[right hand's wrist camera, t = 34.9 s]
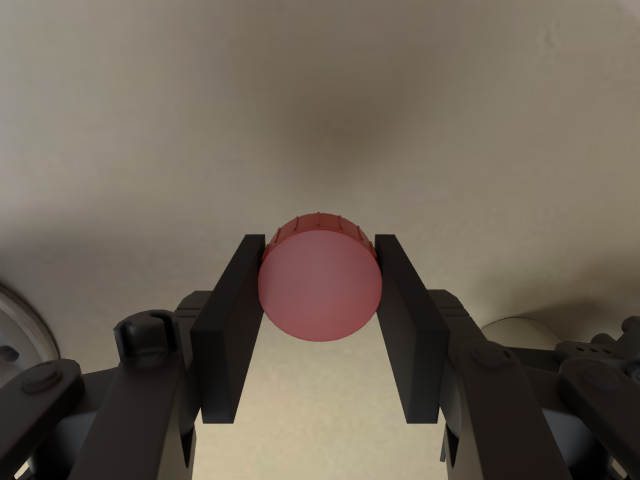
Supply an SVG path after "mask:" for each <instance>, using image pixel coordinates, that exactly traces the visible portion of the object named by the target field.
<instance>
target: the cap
mask: <svg viewBox="0 0 640 480" xmlns="http://www.w3.org/2000/svg"><path fill="white" fill-rule="evenodd" d="M376 258H377V255H376V252H375V250H374V247H373V244H372V242H371V241H370V242H369V240H368V238H367V237H366V235H365V234H364V233H363V232H362V230H361V229H360V227H359V226H356V225H355V224H353V223H352V222H350V221H348V220H347V219H345V218H342V217H341V216H340V215H339V216H336V215H333V214H326V213H319V212H317V213H314V214H308V215H303V216H300V217H298V216H297V217H296V218H295V219H293V220H291V221H290V222H288V223H287V224H285V225H284V226H283V227H282V228H279V229H278V231H277V233H276V234H275V235H274V236H273V238H272V240H271V241H270V243H269V244H267V246H266V249H265V251H264V254H263V256H262V259H261V260H262V264H261V267H260V269H259V273H258V290H259V301H260V304H261V306H262V308H263V310H264V312H265V313H266V315H267V316H268V318H269V319H270V320H271V321H272V322H273V323H274V324H275V325H276V326H277V327H278V328H280V329H281V330H283V331H284V332H286V333H287V334H289V335H291V336H294V337H296V338H299V339H303V340H307V341H315V342H324V341H332V340H337V339H341V338H344V337H346V336H348V335H351V334H353V333H354V332H356V331H358V330H359V329H360V328H362V327H363V326H364V325H365V324H366V323H367V322H368V321H369V320H370V319H371V317H372V316H373V315H374V313H375V312H376V310H377V308H378V306H379V303H380V301H381V294H382V274H381V270H380V267H379V265H378V262H377V259H376Z"/></svg>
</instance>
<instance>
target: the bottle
mask: <svg viewBox="0 0 640 480" xmlns="http://www.w3.org/2000/svg"><path fill="white" fill-rule="evenodd" d="M481 332H482V333H483V334H484V336H485V337H486V338H487V340H489V341H494V342H496V343H498V344H501V345H503V346H506V347H518V348H530V349H542V350H555V347H556V345H557V343H561V341H560V340H559V339H558V338H557V337H556V336H555V335H554V334H553V333H552V332H551V331H550V330H549V329H548V328H547V327H545V326H544V325H543V324H541V323H539V322H537V321H535V320H532V319H528V318H507V319H503V320H499V321H496V322H494V323H492V324H490V325H488V326H486V327H484V328H483V329H482V330H481ZM612 466H613V467H614V468H615V470H616V471H617V472H618V473H619V474H620V475H621V476H622V477H623V478H625V477H626V476H627V473H626V472H625V471H624V470H623V468H622V467H621V466H620V465H619V464H618V463H617V461H616V460H615V459H614V461H613V463H612Z"/></svg>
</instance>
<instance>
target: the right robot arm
mask: <svg viewBox="0 0 640 480" xmlns="http://www.w3.org/2000/svg"><path fill="white" fill-rule="evenodd" d="M265 249H266V244H265V234H246V235H245V237H244V238H243V240H242V242H241V244H240V245H239V247H238V249H237V250H236V252H235V254H234V256H233V257H232V259H231V261H230V262H229V264H228V266H227V268H226V269H225V271H224V273H223V274H222V276H221V278H220V280H219V281H218V283H217V285H216V286H215V288H214V290H213V291H194V292H193V293H191V294H190V295H188V296H187V297H185V298H184V299H183V300H182V301H181V303H180V304H179V306H178V307H177V310H175V311H174V313H173V312H171V311H167V310H149V311H144V312H139V313H137V314H134V315H131V316H129V317H127V318H126V319H124V320H122V321H121V322H119V323H118V324H117V325H116V327H115V328H114V329H113V330H114V335H115V339H116V343H117V348H118V352H119V356H120V360H121V361H120V363H119V365H118V367H115V368H111V369H107V370H103V371H98V372H93V373H88V374H83V375H82V372H81V368H80V365H79V364H78V363H77V362H76V361H74V360H69V359H59V357H58V353H57V350H56V347H55V344H54V342H53V340H52V338H51V336H50V334H49V333H48V331H47V329H46V328H45V326H44V325H43V323H42V322H41V321H40V320H39V318H38V317H37V316H36V315H35V313H34V312H33V311H32V310H31V309H30V308H29V307H28V306H27V305H26V304H24V303H23V302H22V301H21V300H20V299H19V298H17V297H16V296H15V295H14V294H12V293H11V292H10V291H8V290H7V289H5V288H3V287H2V286H0V480H16V479H15V477H14V475H15V474H16V473H17V471H18V470H19V469H20V468H21V467H22V466H23V464H24V463H25V462H26V461H27V463H28V465H29V467H28V469H27V470H26V471H25V472H24V473H23V474H22V475H21V476H20V477H19V478H18V479H17V480H192V473H193V464H194V455H195V446H196V431H195V425H194V422H195V420H196V417H197V415H198V412H199V410H200V407H201V413H202V420H203V424H233V423H234V419H235V415H236V412H237V408H238V404H239V401H240V397H241V393H242V390H243V386H244V382H245V379H246V375H247V372H248V368H249V364H250V361H251V357H252V353H253V350H254V346H255V342H256V339H257V335H258V331H259V328H260V324H261V321H262V317H263V313H264V310H263V308H262V306H261V304H260V301H259V290H258V273H259V269H260V267H261V264H262V260H261V259H262V256H263V254H264V251H265ZM374 250H375V252H376V255H377V258H376V259H377V262H378V265H379V267H380V270H381V274H382V294H381V301H380V303H379V306H378V308H377V310H376V312H377V316H378V320H379V323H380V327H381V331H382V334H383V338H384V342H385V345H386V349H387V352H388V356H389V360H390V363H391V367H392V371H393V374H394V378H395V382H396V385H397V389H398V393H399V396H400V400H401V403H402V407H403V411H404V414H405V418H406V422H407V424H437V422H438V415H439V408H440V407H441V410H442V412H443V415H444V417H445V420H446V425H445V431H444V438H443V444H442V450H441V457H440V461H442V462H445V458H446V463H447V472H448V480H640V386H639V385H638V384H637V383H635V382H634V381H633V380H632V379H631V378H630V377H628V376H627V375H625V374H624V373H622V372H621V371H619V370H618V369H616V368H614V367H612V366H610V365H607V364H606V363H604V362H601V361H598V360H597V361H596V360H594V359H589V358H580V357H574V358H568V359H566V360H564V361H563V362H562V363H561V366H560V370H559V373H555V372H550V371H545V370H540V369H536V368H531V367H527V366H524V365H521V362H520V360H519V359H518V358H517V356H516V355H515V354H514V353H513V352H512V351H511V350H509V349H508V348H507V347H505V346H503V345H501V344H498V343H496V342H494V341H489V340H487V338H486V337H485V336H484V334H483V333H482V332H481V330H480V329H479V327H478V326H477V325H476V323H475V322H474V320H473V319H472V318H471V317H469V313H468V312H467V311H466V309H464V307H463V305H462V304H461V302H460V301H459V300H458V298H457V297H455V296H454V295H452V294H451V293H449V292H448V291H446V290H427V289H426V288H425V286H424V284H423V283H422V281H421V279H420V277H419V276H418V274H417V272H416V271H415V269H414V267H413V265H412V264H411V262H410V260H409V259H408V257H407V255H406V253H405V252H404V250H403V248H402V247H401V245H400V243H399V241H398V240H397V238H396V236H395V235H394V234H375V248H374ZM614 459H615V460H616V461H617V463H618V464H619V465H620V466H621V467H622V468H623V470H624V471H625V472H626V473H627V476H626V477H625V478H623V477H622V476H621V475H620V474H619V473H618V472H617V471H616V470H615V468H614V467H613V466H612V463H613V461H614Z"/></svg>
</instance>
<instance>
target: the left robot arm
mask: <svg viewBox="0 0 640 480" xmlns="http://www.w3.org/2000/svg"><path fill="white" fill-rule="evenodd" d="M621 328H622V330H623V332H625V333H624V334H623V335H622V336H621V337H620V338H619V339H618V340H617V341H615V340H614V339H613V338H612V337H610V336H609V335H608V334H605V333H601V334H598V335H596V336H595V337H593V339H592V340H591V343H581V342H569V341H565V342H561V343H557V345H556V347H555V350H542V349H530V348H518V347H507V348H508V349H509V350H511V351H512V352H513V353H514V354H515V355H516V356H517V358H518V359H519V360H520V362H521V365H524V366H527V367H531V368H536V369H540V370H545V371H550V372H555V373H559V370H560V366H561V363H562V362H563V361H564V360H566V359H568V358H574V357H580V358H589V359H594V360H596V361H597V360H598V361H601V362H604V363H606V364H607V365H610V366H612V367H614V368H616V369H618V370H619V371H621V372H622V373H624V374H625V375H627V376H628V377H630V378H631V379H632V380H633V381H634V382H635V383H637V384H638V385H639V386H640V317H638V316H632V317H629V318H627V319H626V320H625V321H624V322H623V323H622V326H621ZM505 347H506V346H505Z"/></svg>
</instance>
